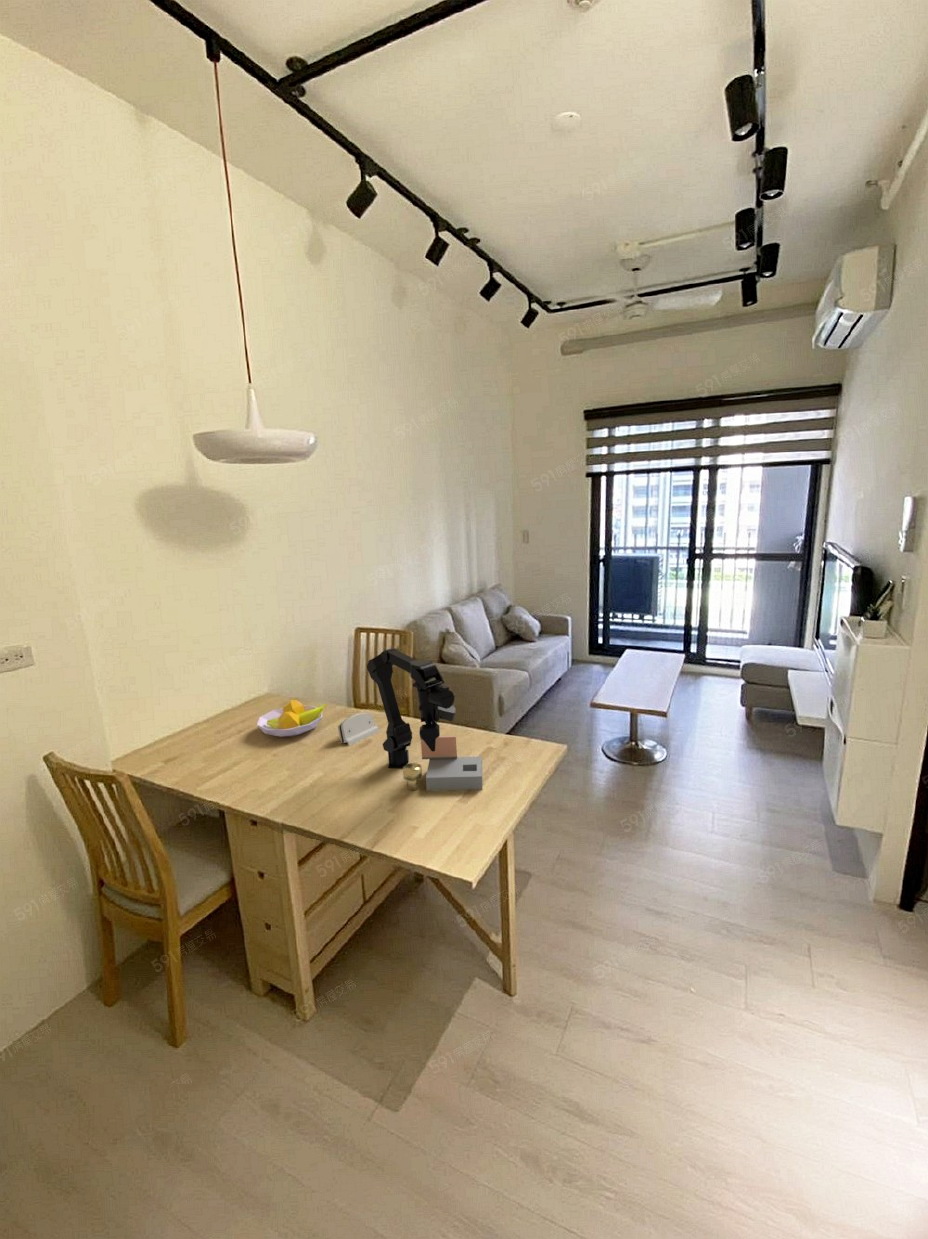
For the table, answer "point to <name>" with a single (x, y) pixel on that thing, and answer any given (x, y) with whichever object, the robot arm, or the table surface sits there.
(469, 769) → the hitch block
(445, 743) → the latch flap
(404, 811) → the table surface
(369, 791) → the table surface
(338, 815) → the table surface
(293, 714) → the fruit bowl
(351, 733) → the hinge
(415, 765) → the tan shiny rounded piece
